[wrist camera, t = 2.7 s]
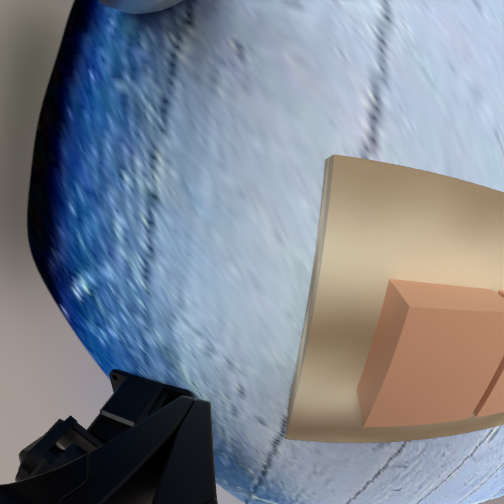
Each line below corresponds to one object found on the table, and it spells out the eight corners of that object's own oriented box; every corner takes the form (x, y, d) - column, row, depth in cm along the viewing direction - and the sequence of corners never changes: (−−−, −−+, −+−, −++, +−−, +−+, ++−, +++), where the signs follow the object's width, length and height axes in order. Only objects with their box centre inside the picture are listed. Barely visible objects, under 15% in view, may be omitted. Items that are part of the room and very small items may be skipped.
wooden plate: (496, 394, 14) (513, 421, 11) (289, 397, 17) (285, 438, 13) (557, 216, 11) (590, 227, 7) (325, 159, 13) (334, 154, 10)
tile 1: (451, 387, 11) (468, 418, 9) (356, 388, 12) (363, 426, 10) (491, 289, 10) (521, 312, 7) (388, 278, 10) (409, 306, 8)
